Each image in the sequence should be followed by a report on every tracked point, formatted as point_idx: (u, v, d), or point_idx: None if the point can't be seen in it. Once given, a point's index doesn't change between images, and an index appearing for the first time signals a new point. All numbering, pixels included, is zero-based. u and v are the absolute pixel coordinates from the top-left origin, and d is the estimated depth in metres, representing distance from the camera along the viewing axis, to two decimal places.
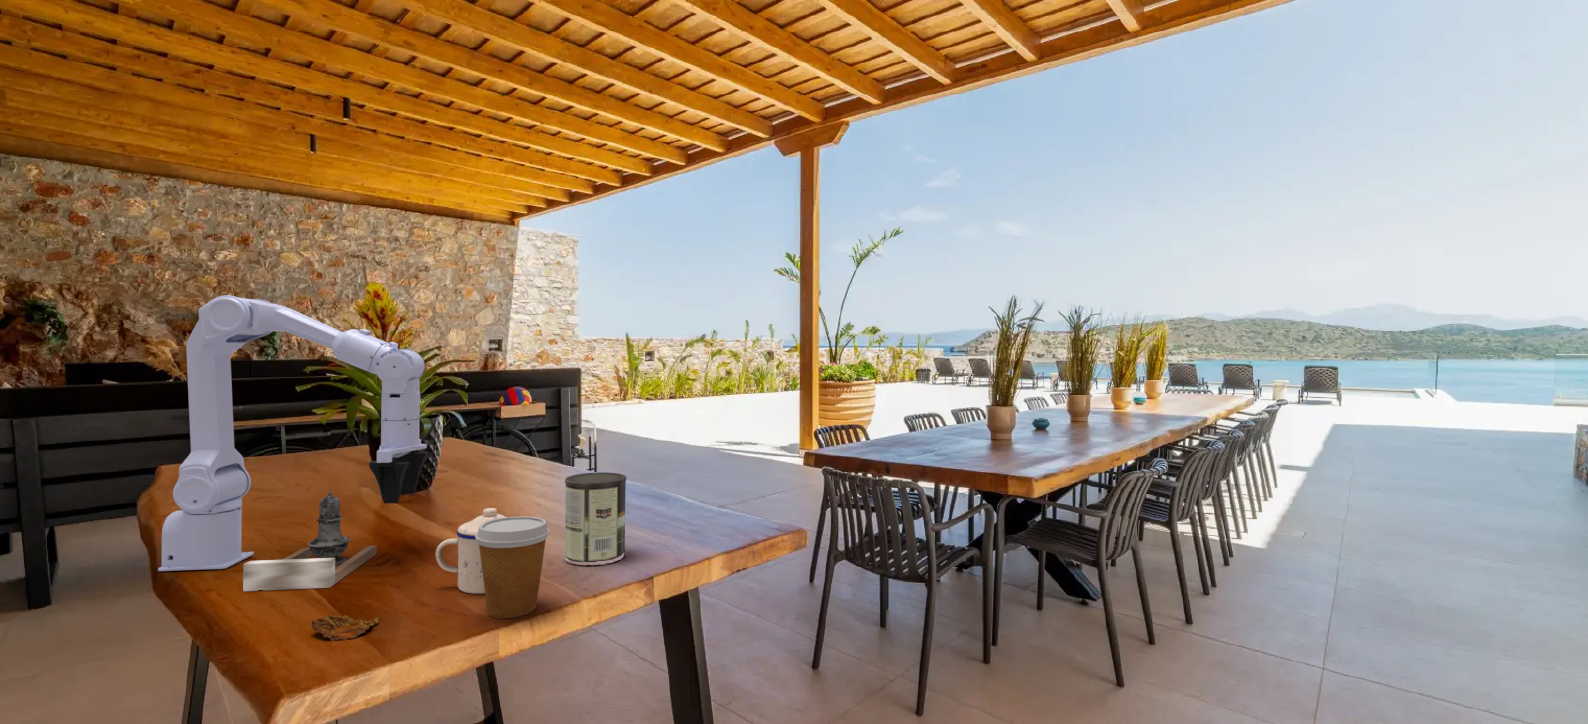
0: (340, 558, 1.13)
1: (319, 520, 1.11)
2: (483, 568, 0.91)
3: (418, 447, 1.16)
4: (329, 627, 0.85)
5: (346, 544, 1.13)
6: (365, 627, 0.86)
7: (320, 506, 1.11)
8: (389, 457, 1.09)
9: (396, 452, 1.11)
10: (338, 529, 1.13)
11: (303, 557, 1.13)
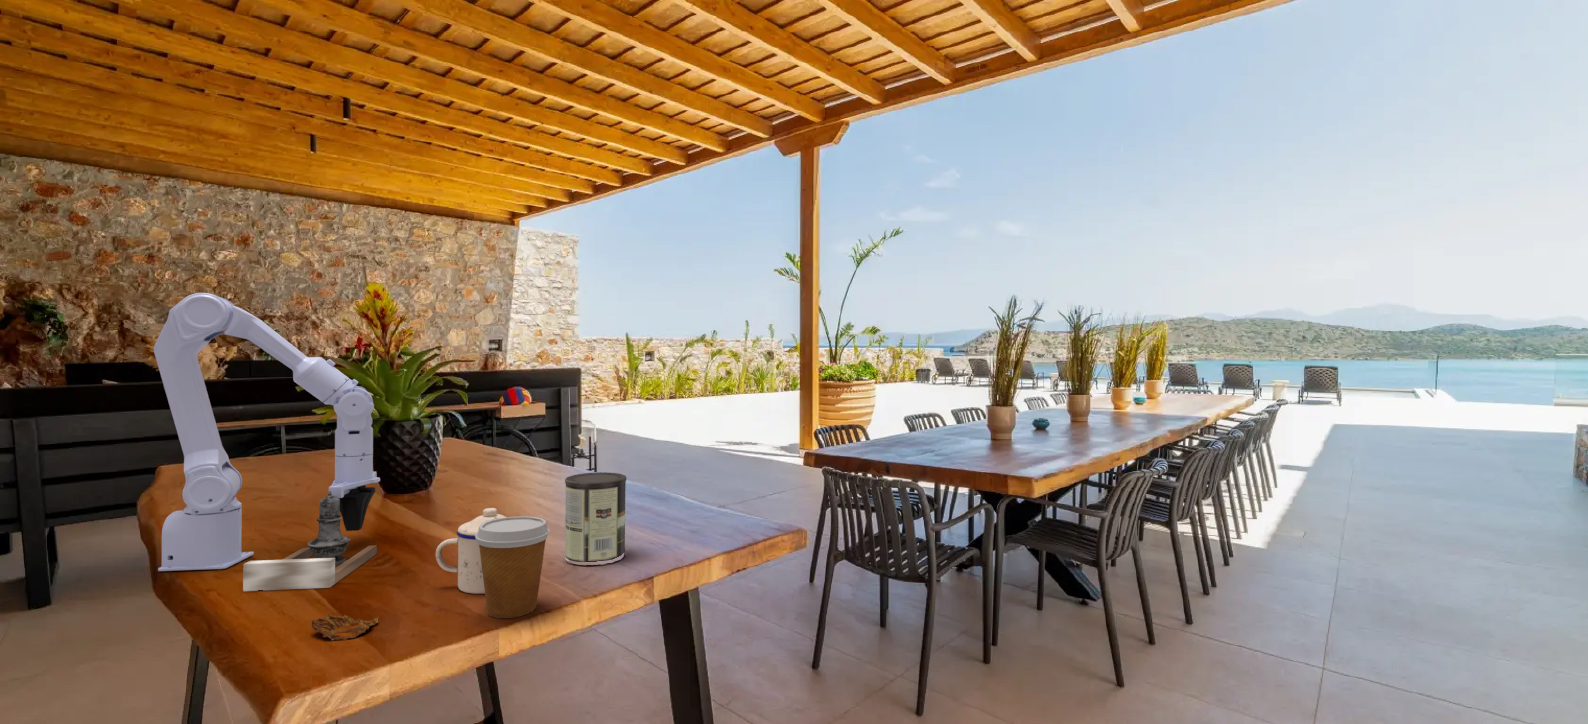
0: (340, 558, 1.13)
1: (319, 520, 1.11)
2: (483, 568, 0.91)
3: (371, 481, 1.21)
4: (329, 627, 0.85)
5: (346, 544, 1.13)
6: (365, 627, 0.86)
7: (320, 506, 1.11)
8: (340, 493, 1.15)
9: (348, 487, 1.16)
10: (338, 529, 1.13)
11: (303, 557, 1.13)
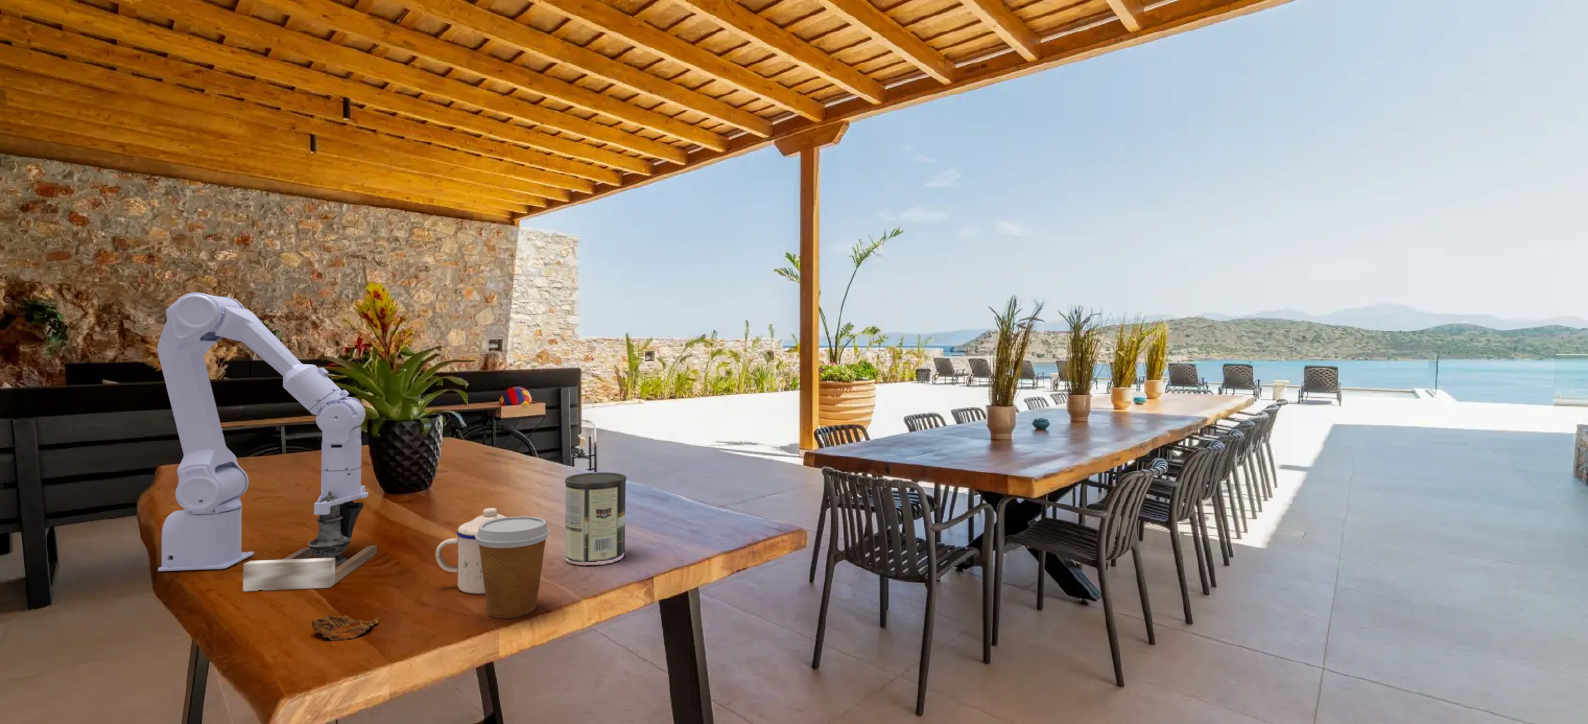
0: (340, 558, 1.13)
1: (319, 520, 1.11)
2: (483, 568, 0.91)
3: (359, 496, 1.16)
4: (329, 627, 0.85)
5: (346, 544, 1.13)
6: (365, 627, 0.86)
7: None
8: (326, 509, 1.10)
9: (334, 503, 1.12)
10: (338, 529, 1.13)
11: (303, 557, 1.13)
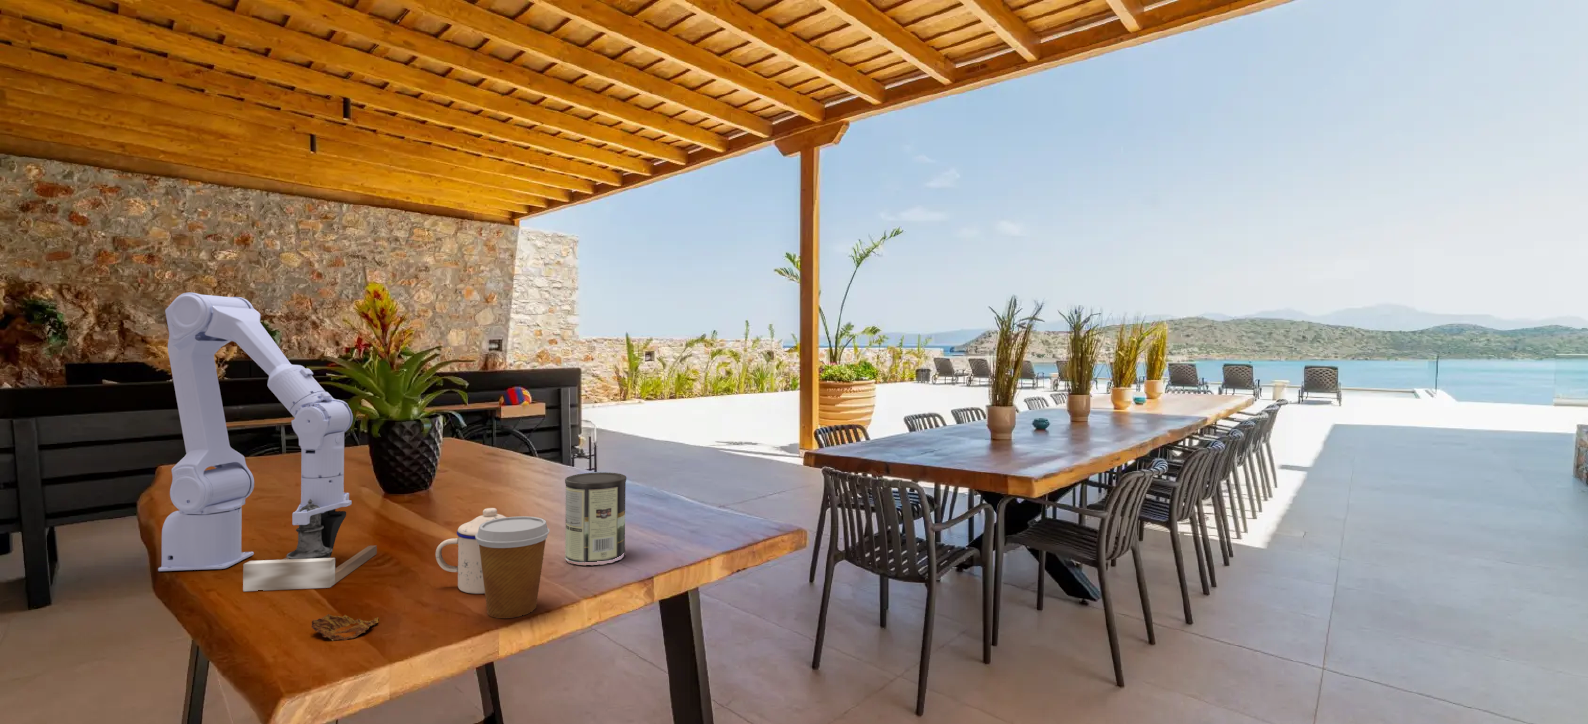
0: None
1: (298, 530, 1.05)
2: (483, 568, 0.91)
3: (341, 505, 1.10)
4: (329, 627, 0.85)
5: (328, 555, 1.07)
6: (365, 627, 0.86)
7: None
8: (306, 519, 1.03)
9: (315, 512, 1.05)
10: (319, 539, 1.06)
11: None
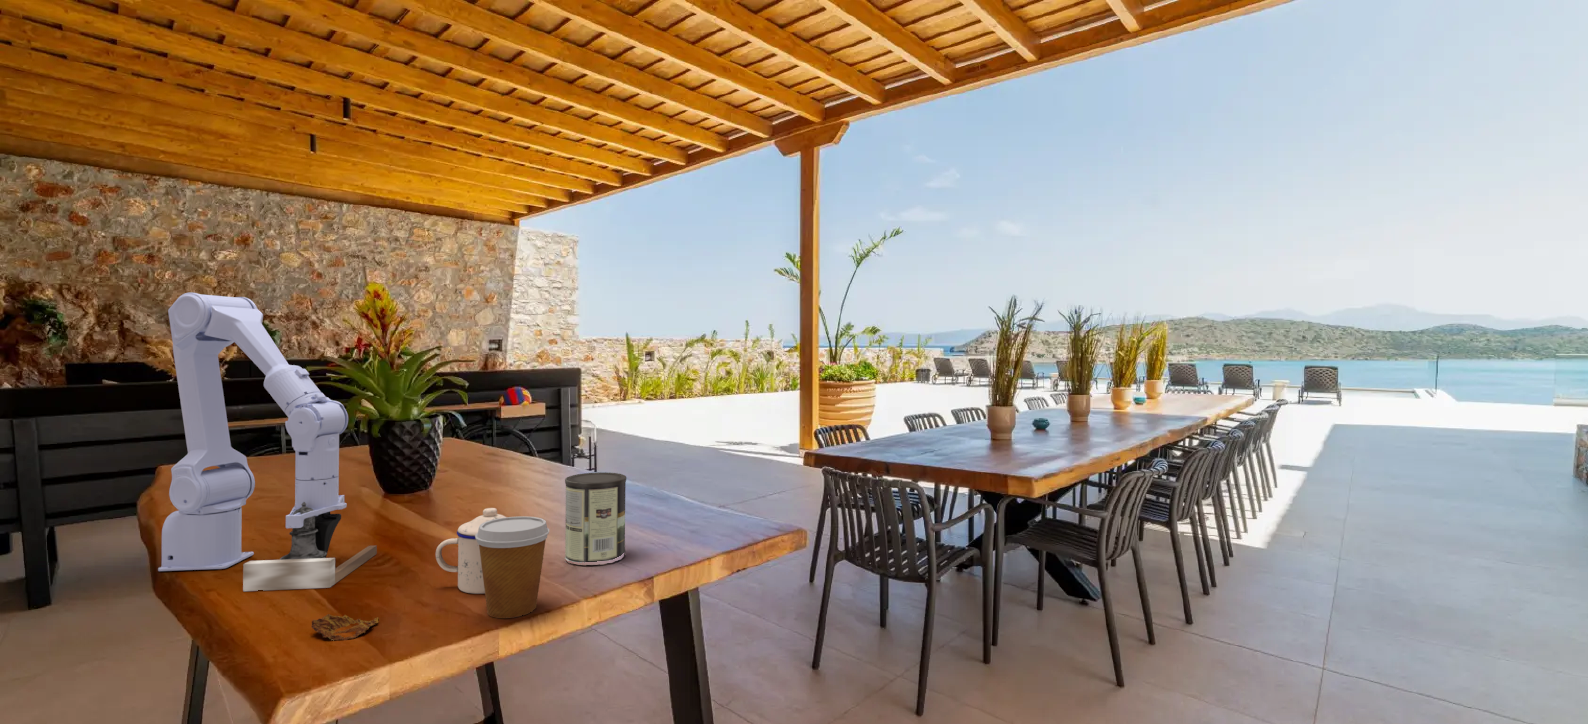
0: None
1: (292, 533, 1.03)
2: (483, 568, 0.91)
3: (336, 507, 1.08)
4: (328, 627, 0.85)
5: None
6: (365, 627, 0.86)
7: None
8: (299, 522, 1.02)
9: (308, 515, 1.03)
10: (313, 543, 1.05)
11: None
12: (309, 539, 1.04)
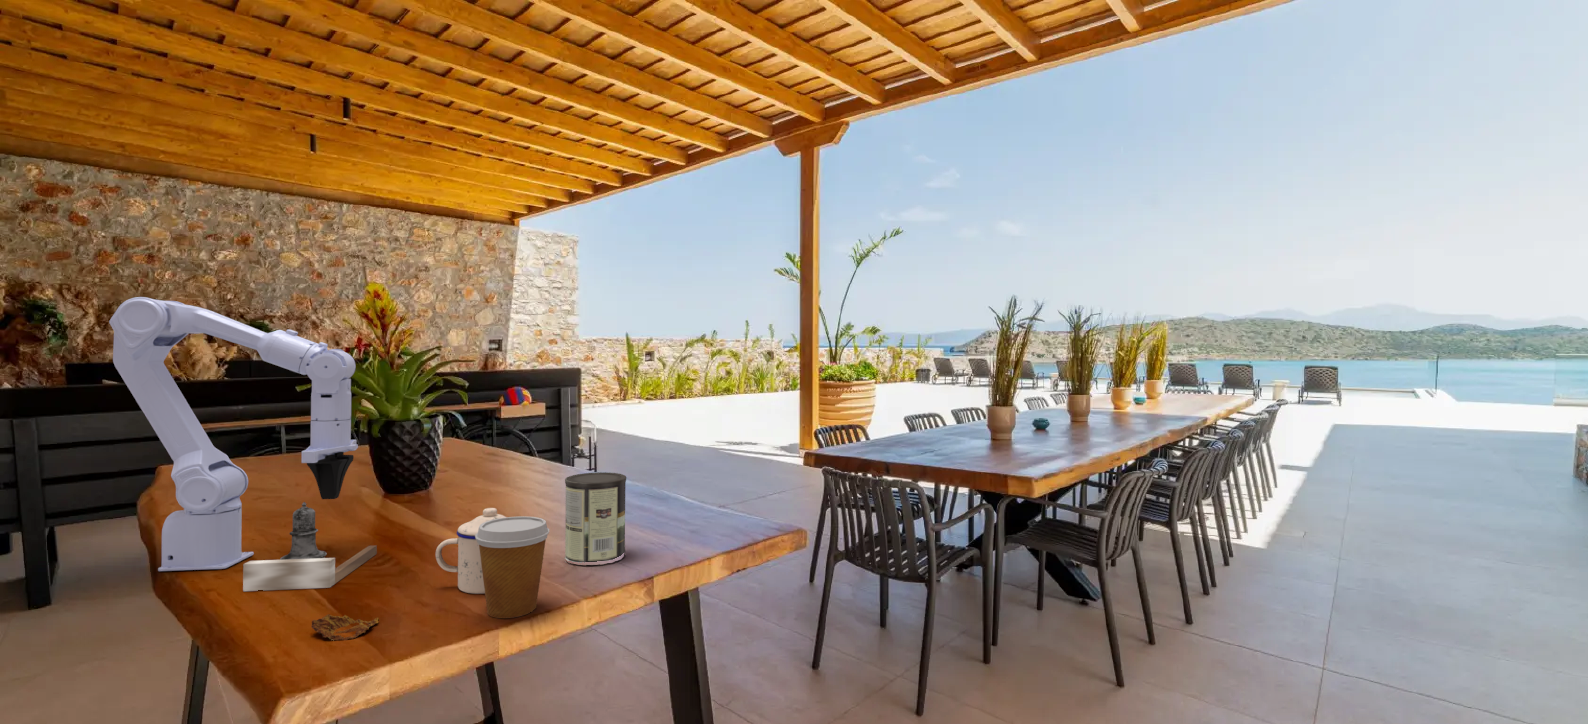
0: None
1: (292, 533, 1.03)
2: (483, 568, 0.91)
3: (348, 447, 1.16)
4: (329, 627, 0.85)
5: None
6: (365, 627, 0.86)
7: (293, 518, 1.03)
8: (314, 457, 1.09)
9: (322, 452, 1.11)
10: (313, 543, 1.05)
11: None
12: (309, 539, 1.04)
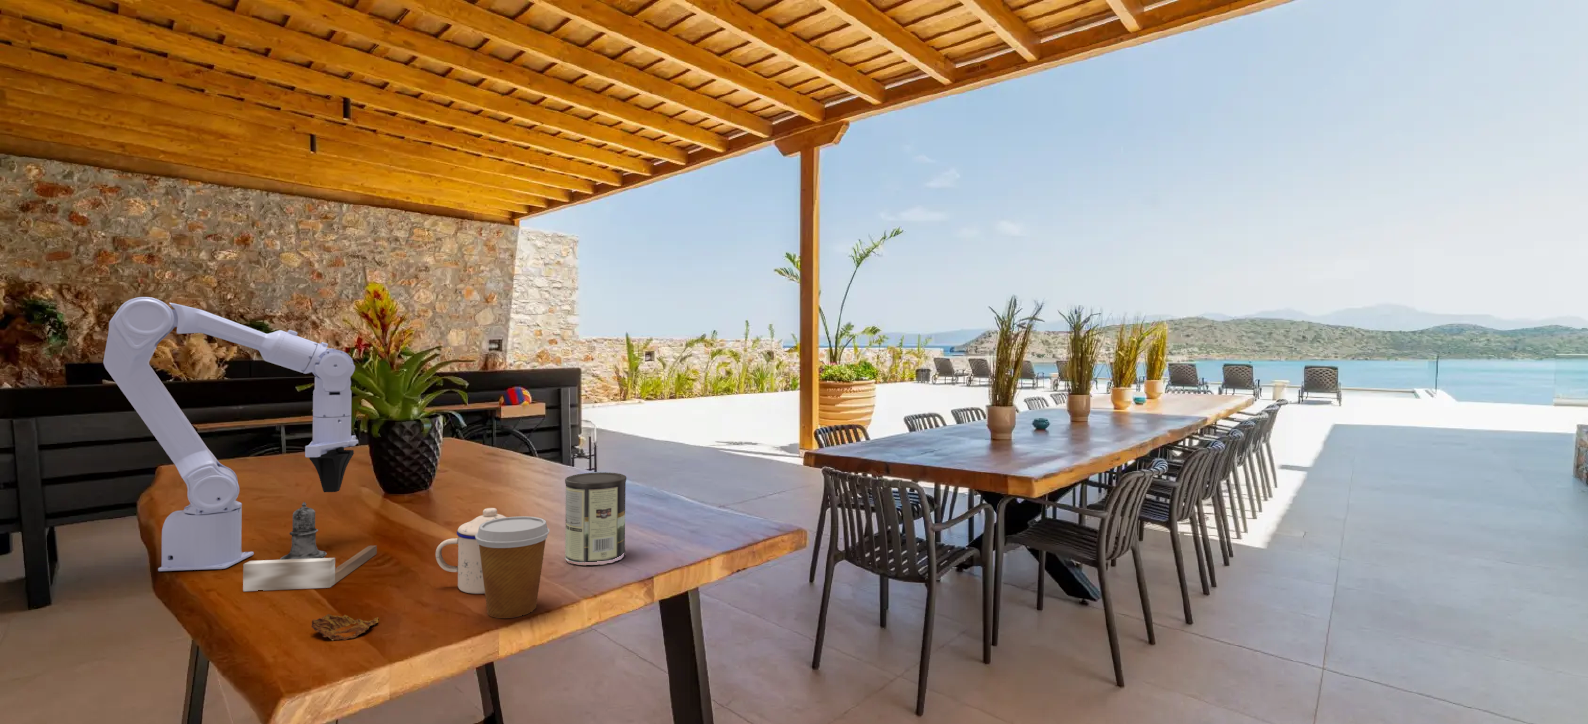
0: None
1: (292, 533, 1.03)
2: (483, 568, 0.91)
3: (349, 443, 1.21)
4: (328, 627, 0.85)
5: None
6: (365, 627, 0.86)
7: (293, 518, 1.03)
8: (317, 452, 1.15)
9: (325, 447, 1.16)
10: (313, 543, 1.05)
11: None
12: (309, 539, 1.04)
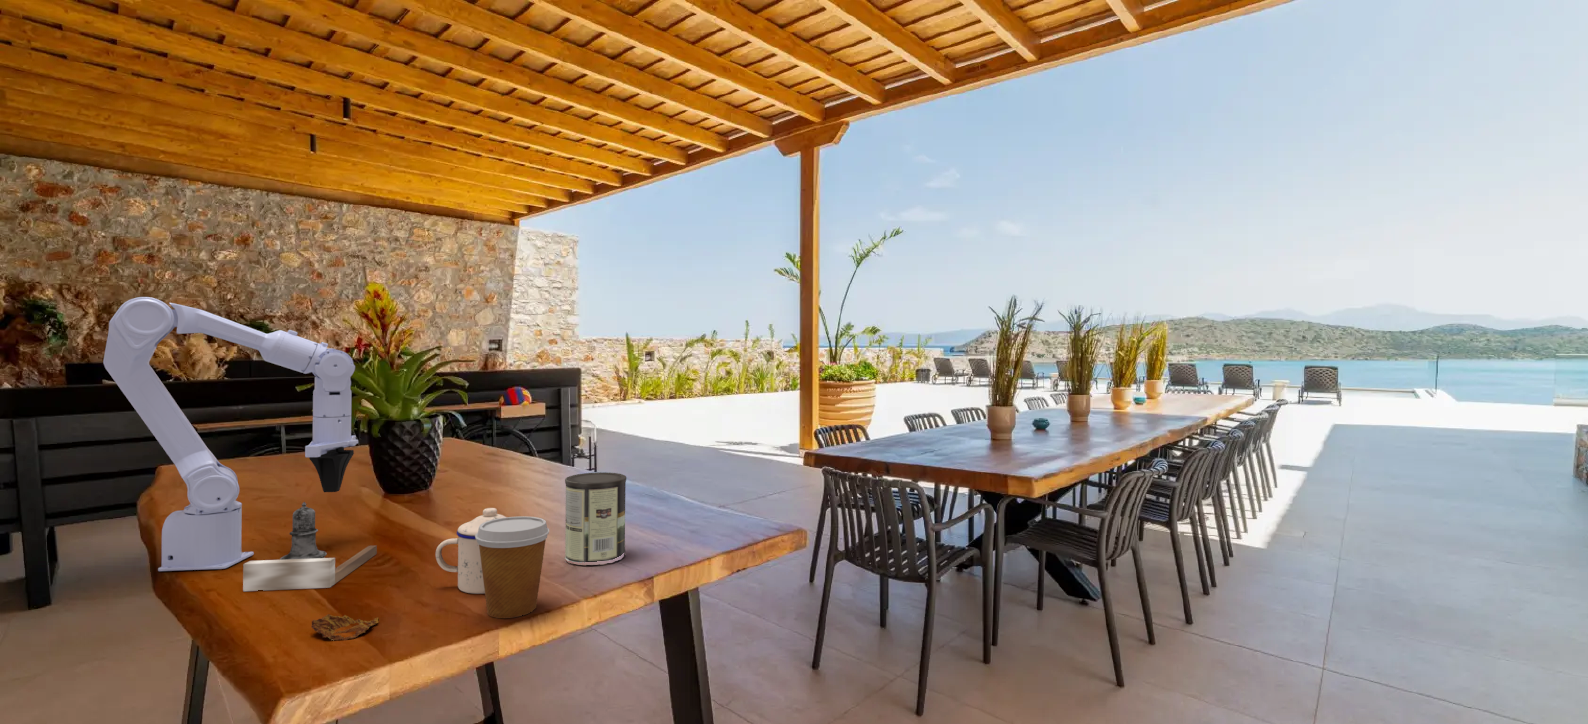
0: None
1: (292, 533, 1.03)
2: (483, 568, 0.91)
3: (349, 443, 1.21)
4: (328, 627, 0.85)
5: None
6: (365, 627, 0.86)
7: (293, 518, 1.03)
8: (317, 452, 1.15)
9: (325, 447, 1.16)
10: (313, 543, 1.05)
11: None
12: (309, 539, 1.04)
